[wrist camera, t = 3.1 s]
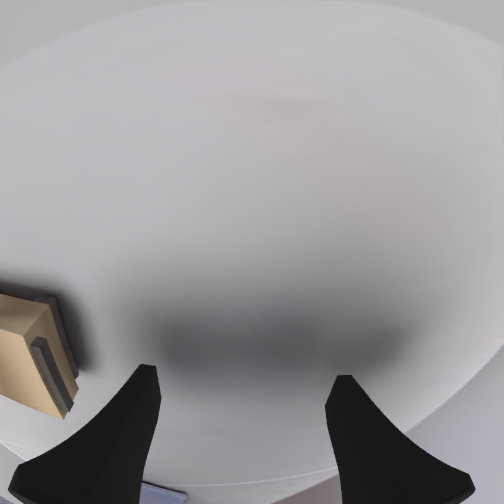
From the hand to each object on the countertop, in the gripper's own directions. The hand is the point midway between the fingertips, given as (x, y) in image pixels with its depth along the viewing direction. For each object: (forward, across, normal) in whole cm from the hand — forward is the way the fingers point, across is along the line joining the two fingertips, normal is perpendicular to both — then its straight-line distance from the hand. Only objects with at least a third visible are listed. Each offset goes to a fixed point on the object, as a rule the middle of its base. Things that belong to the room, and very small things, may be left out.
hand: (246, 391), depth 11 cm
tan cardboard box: (+2, +11, 0) cm, 12 cm away
